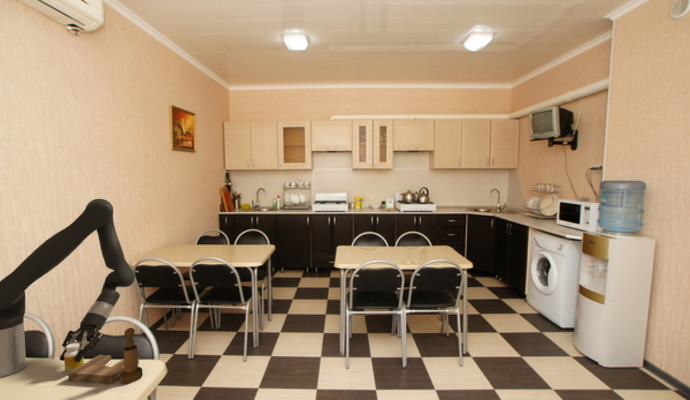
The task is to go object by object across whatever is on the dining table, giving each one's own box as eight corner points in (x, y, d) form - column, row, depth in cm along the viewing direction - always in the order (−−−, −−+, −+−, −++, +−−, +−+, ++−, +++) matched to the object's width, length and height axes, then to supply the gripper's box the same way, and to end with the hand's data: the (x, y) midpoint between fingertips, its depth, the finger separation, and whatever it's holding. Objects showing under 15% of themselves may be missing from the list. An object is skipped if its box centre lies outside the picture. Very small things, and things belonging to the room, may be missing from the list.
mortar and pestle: (131, 385, 107) (128, 333, 107) (115, 383, 109) (113, 332, 108) (146, 373, 114) (144, 325, 113) (131, 372, 115) (129, 323, 115)
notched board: (68, 381, 110) (68, 372, 110) (99, 362, 122) (99, 354, 122) (111, 384, 108) (111, 375, 108) (139, 364, 120) (138, 357, 120)
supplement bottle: (81, 372, 116) (80, 346, 115) (62, 376, 113) (61, 349, 113) (86, 364, 120) (84, 340, 120) (68, 368, 118) (66, 343, 118)
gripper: (75, 310, 124) (43, 356, 113) (107, 312, 123) (78, 358, 111) (88, 318, 130) (59, 362, 119) (119, 320, 128) (93, 365, 117)
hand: (69, 360), depth 115 cm, fingers closed on supplement bottle, 5 cm apart
